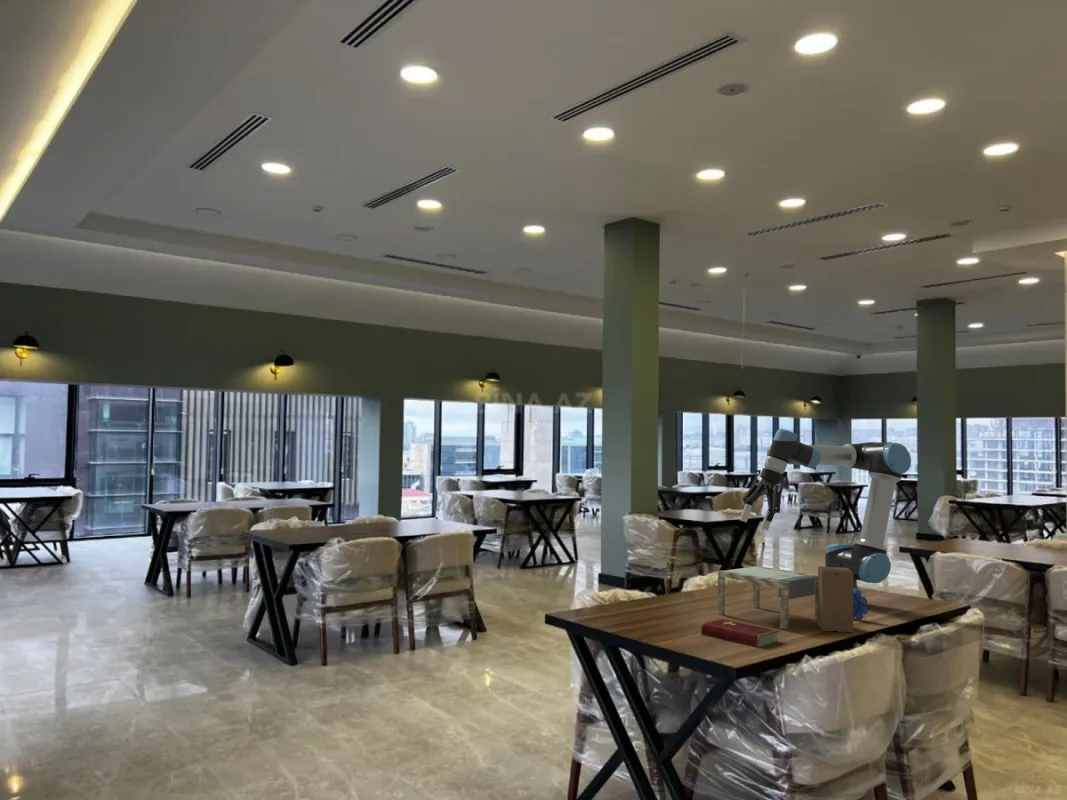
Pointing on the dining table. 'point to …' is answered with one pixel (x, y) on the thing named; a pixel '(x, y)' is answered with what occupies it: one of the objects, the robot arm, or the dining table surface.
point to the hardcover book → (739, 632)
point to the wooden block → (835, 599)
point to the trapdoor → (797, 583)
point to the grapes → (859, 604)
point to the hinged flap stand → (756, 592)
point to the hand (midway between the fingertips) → (753, 525)
